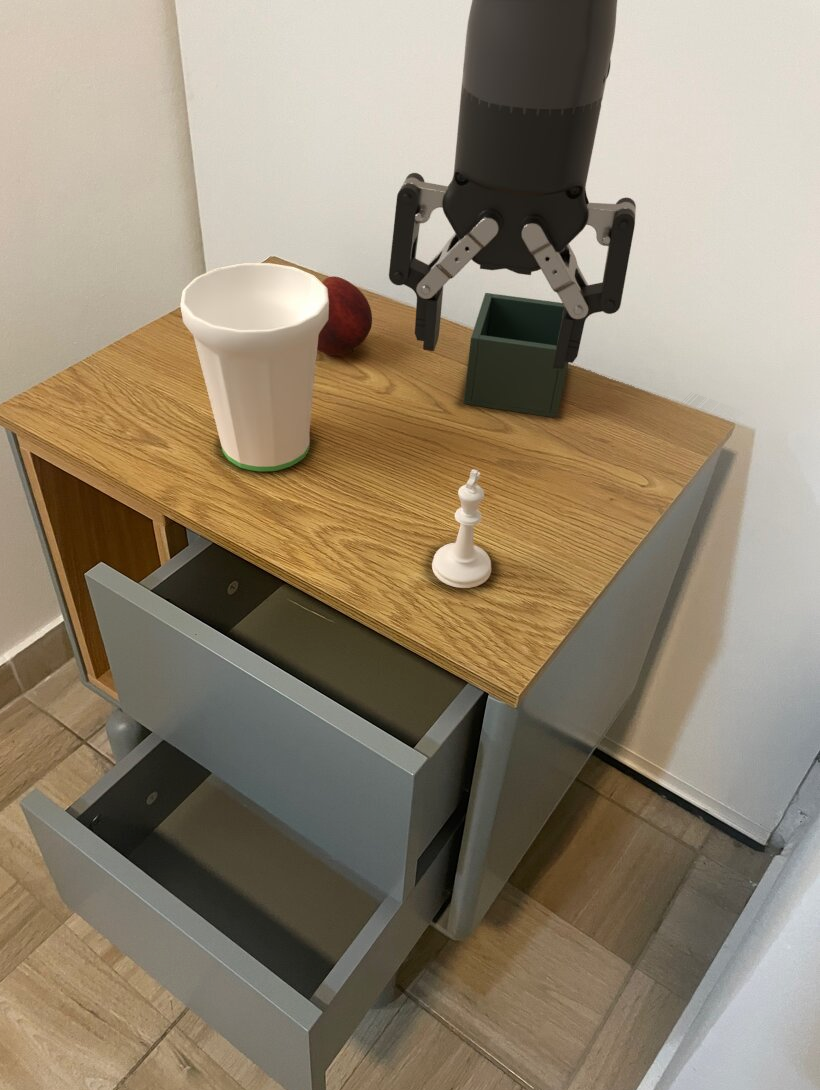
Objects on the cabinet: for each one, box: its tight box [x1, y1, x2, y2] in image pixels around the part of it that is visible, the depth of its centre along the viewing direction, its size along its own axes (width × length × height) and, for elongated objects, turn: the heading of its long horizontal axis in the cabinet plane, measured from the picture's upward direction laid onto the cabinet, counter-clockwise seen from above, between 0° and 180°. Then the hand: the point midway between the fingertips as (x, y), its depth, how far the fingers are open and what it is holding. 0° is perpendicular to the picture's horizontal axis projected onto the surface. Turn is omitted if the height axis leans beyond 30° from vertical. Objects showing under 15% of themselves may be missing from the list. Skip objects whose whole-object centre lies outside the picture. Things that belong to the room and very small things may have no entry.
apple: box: [317, 276, 373, 356], centre depth 94 cm, size 7×8×8 cm
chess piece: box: [431, 468, 492, 589], centre depth 69 cm, size 5×5×10 cm
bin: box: [463, 292, 570, 419], centre depth 90 cm, size 10×10×8 cm
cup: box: [179, 262, 329, 472], centre depth 79 cm, size 12×12×15 cm
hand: (494, 354), depth 58 cm, fingers open, 8 cm apart
